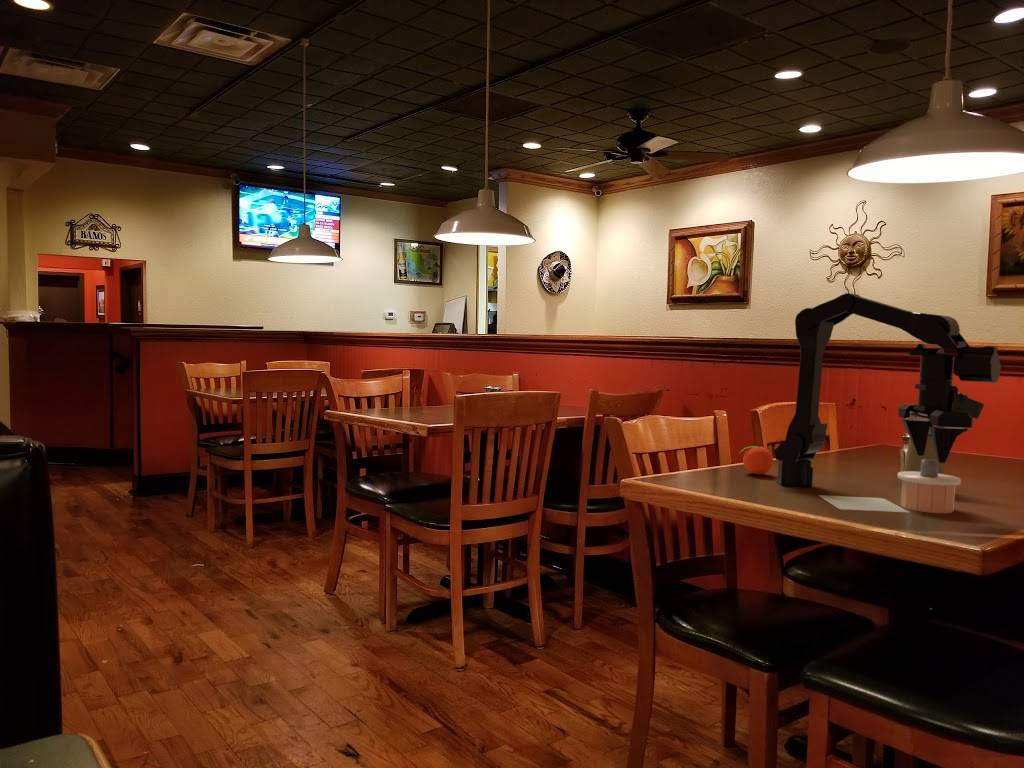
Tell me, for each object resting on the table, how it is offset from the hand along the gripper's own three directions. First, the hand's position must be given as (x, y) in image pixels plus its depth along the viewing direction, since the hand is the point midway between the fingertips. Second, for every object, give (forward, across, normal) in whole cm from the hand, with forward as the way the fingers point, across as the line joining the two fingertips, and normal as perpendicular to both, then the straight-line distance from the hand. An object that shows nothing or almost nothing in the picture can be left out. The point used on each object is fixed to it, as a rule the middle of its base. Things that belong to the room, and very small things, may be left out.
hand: (930, 459), depth 152 cm
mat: (+10, +1, +12) cm, 16 cm away
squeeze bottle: (+10, +24, -9) cm, 28 cm away
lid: (+4, 0, 0) cm, 4 cm away
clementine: (+10, +34, +26) cm, 44 cm away
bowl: (+10, 0, 0) cm, 10 cm away
